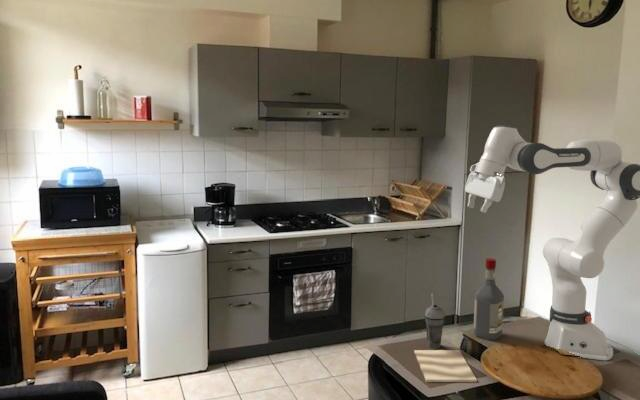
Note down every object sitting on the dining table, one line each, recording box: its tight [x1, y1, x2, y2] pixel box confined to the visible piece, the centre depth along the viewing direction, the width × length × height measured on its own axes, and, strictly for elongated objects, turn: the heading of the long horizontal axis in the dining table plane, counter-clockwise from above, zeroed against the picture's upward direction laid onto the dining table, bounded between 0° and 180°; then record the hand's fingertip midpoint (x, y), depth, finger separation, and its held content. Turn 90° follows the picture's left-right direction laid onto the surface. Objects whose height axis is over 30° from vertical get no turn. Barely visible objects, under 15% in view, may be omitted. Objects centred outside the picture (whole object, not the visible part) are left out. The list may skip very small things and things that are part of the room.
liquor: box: [473, 258, 505, 341], centre depth 208 cm, size 9×9×30 cm
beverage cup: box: [424, 293, 446, 350], centre depth 199 cm, size 7×7×20 cm
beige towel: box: [413, 349, 478, 383], centre depth 185 cm, size 22×16×1 cm
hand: (476, 209), depth 186 cm, fingers open, 8 cm apart
